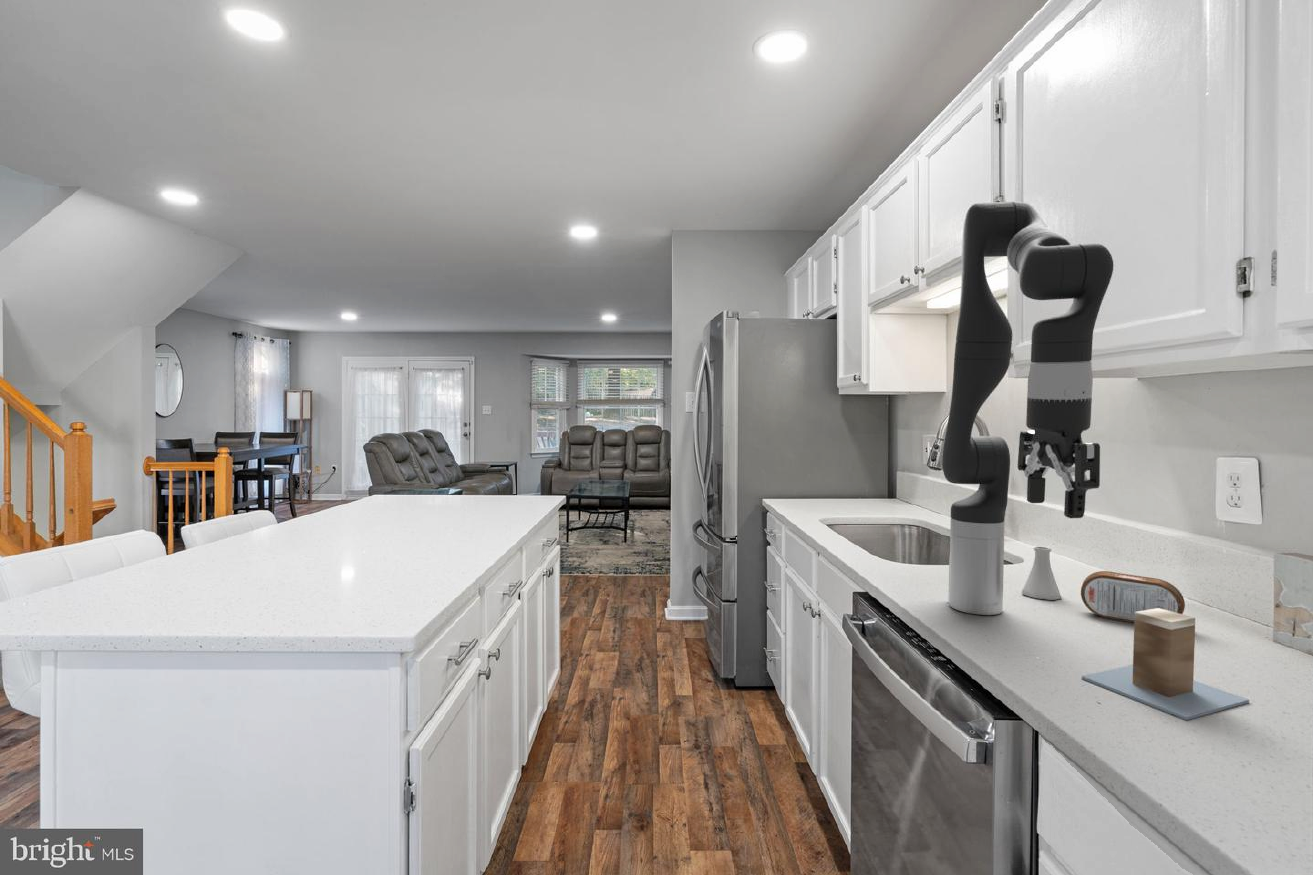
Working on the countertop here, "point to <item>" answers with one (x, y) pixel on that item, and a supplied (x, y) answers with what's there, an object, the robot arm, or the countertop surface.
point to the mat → (1181, 705)
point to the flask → (1041, 577)
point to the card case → (1163, 651)
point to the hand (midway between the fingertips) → (1053, 509)
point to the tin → (1128, 595)
